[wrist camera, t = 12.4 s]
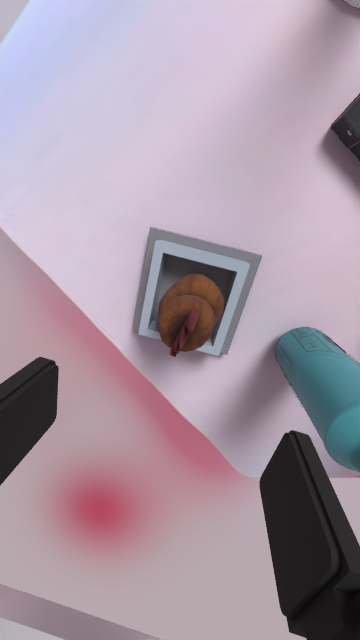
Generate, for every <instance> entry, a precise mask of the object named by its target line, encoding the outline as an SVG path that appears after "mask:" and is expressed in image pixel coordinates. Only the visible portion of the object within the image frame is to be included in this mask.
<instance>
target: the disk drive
mask: <svg viewBox="0 0 360 640" xmlns="http://www.w3.org/2000/svg"><path fill="white" fill-rule="evenodd" d="M331 128H332V129H333V130H334V131H335V132H336V133H337V135H338V136H339V138H340V139H341V141H342V142H343V143H344V144H345V145H346V146H347V148H349V149H350V150H351V151H352V152H353V153H354V155H355V156H356V157H357V158H358V159H359V161H360V94H359V95H358V96H357V97H356V98H355V99H354V100H353V102H352V103H351V104H350V105H349V106H348V107H347V108H346V109H345V111H344V112H343V113H342V114H341V115H340V116H339V117H338V118H337V119H336V120H335V121H334V122H333V123H332V125H331Z"/></svg>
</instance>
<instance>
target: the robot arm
mask: <svg viewBox="0 0 360 640" xmlns="http://www.w3.org/2000/svg"><path fill="white" fill-rule="evenodd" d="M57 392H58V366H57V365H56V364H55V361H53V360H49V359H46V358H43V357H39V358H37V359H35V360H34V361H32V362H31V363H30V364H28V365H27V366H25V367H24V368H22V369H21V370H20V371H18V372H17V373H15V374H14V375H13V376H11V377H10V378H8V379H7V380H5V381H4V382H3V383H1V384H0V485H1V484H2V483H3V482H4V481H5V479H6V478H7V477H8V476H9V475H10V473H11V472H12V471H13V470H14V469H15V468H16V466H17V465H18V464H19V463H20V462H21V461H22V459H23V458H24V457H25V456H26V455H27V453H28V452H29V451H30V450H31V449H32V448H33V446H34V445H35V444H36V443H37V442H38V440H39V439H40V438H41V437H42V436H43V435H44V433H45V432H46V431H47V430H48V429H49V428H50V426H51V425H52V424H53V422H54V421H55V419H56V415H57ZM260 492H261V498H262V503H263V509H264V515H265V521H266V527H267V533H268V538H269V544H270V550H271V556H272V562H273V568H274V574H275V580H276V585H277V591H278V597H279V603H280V608H281V611H282V613H283V615H284V616H286V617H287V622H288V627H289V632H290V633H293V634H296V635H299V636H302V637H305V638H307V640H360V546H359V544H358V542H357V539H356V537H355V535H354V533H353V530H352V528H351V526H350V524H349V522H348V520H347V517H346V515H345V513H344V511H343V509H342V506H341V504H340V502H339V500H338V498H337V495H336V493H335V491H334V489H333V487H332V484H331V482H330V480H329V478H328V476H327V473H326V471H325V469H324V467H323V465H322V463H321V460H320V458H319V456H318V454H317V452H316V449H315V447H314V445H313V443H312V441H311V438H310V437H309V436H308V435H307V434H304V433H300V432H297V431H293V430H291V431H290V432H289V433H285V434H284V436H283V438H282V439H281V441H280V443H279V445H278V447H277V449H276V450H275V452H274V454H273V456H272V458H271V459H270V461H269V463H268V465H267V467H266V469H265V470H264V472H263V474H262V476H261V478H260ZM0 640H162V639H159V638H156V637H154V636H151V635H148V634H144V633H142V632H139V631H136V630H133V629H130V628H127V627H124V626H122V625H118V624H116V623H113V622H110V621H107V620H104V619H101V618H98V617H95V616H93V615H90V614H87V613H84V612H81V611H78V610H75V609H72V608H69V607H66V606H63V605H61V604H58V603H55V602H52V601H49V600H46V599H43V598H40V597H37V596H34V595H31V594H28V593H25V592H22V591H19V590H16V589H13V588H10V587H7V586H4V585H1V584H0Z"/></svg>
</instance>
